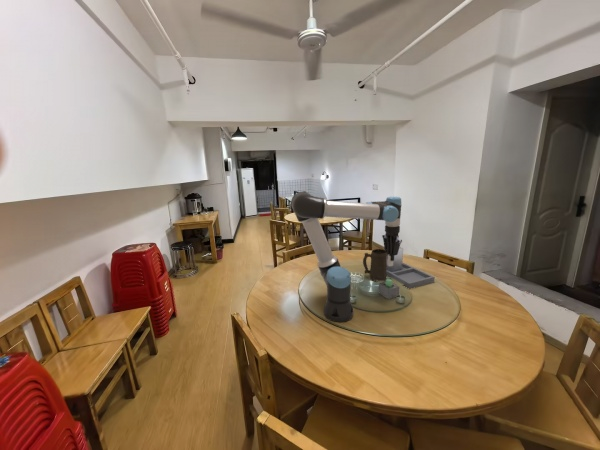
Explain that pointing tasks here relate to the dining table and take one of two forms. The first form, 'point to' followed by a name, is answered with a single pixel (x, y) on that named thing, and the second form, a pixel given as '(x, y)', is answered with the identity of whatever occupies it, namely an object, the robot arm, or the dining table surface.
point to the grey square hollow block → (388, 290)
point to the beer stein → (376, 264)
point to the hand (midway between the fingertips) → (390, 265)
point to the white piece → (396, 262)
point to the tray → (411, 276)
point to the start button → (389, 283)
